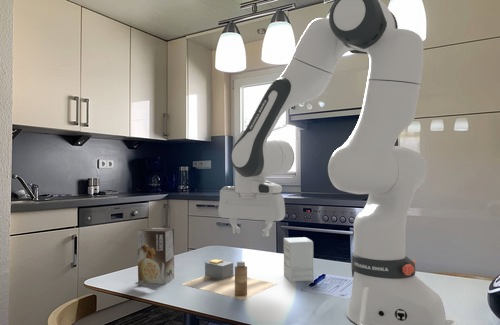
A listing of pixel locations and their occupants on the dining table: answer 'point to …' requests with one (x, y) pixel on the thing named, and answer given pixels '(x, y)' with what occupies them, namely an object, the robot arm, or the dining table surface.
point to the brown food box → (156, 255)
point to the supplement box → (298, 259)
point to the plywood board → (228, 286)
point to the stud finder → (219, 269)
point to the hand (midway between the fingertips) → (250, 234)
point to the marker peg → (240, 279)
